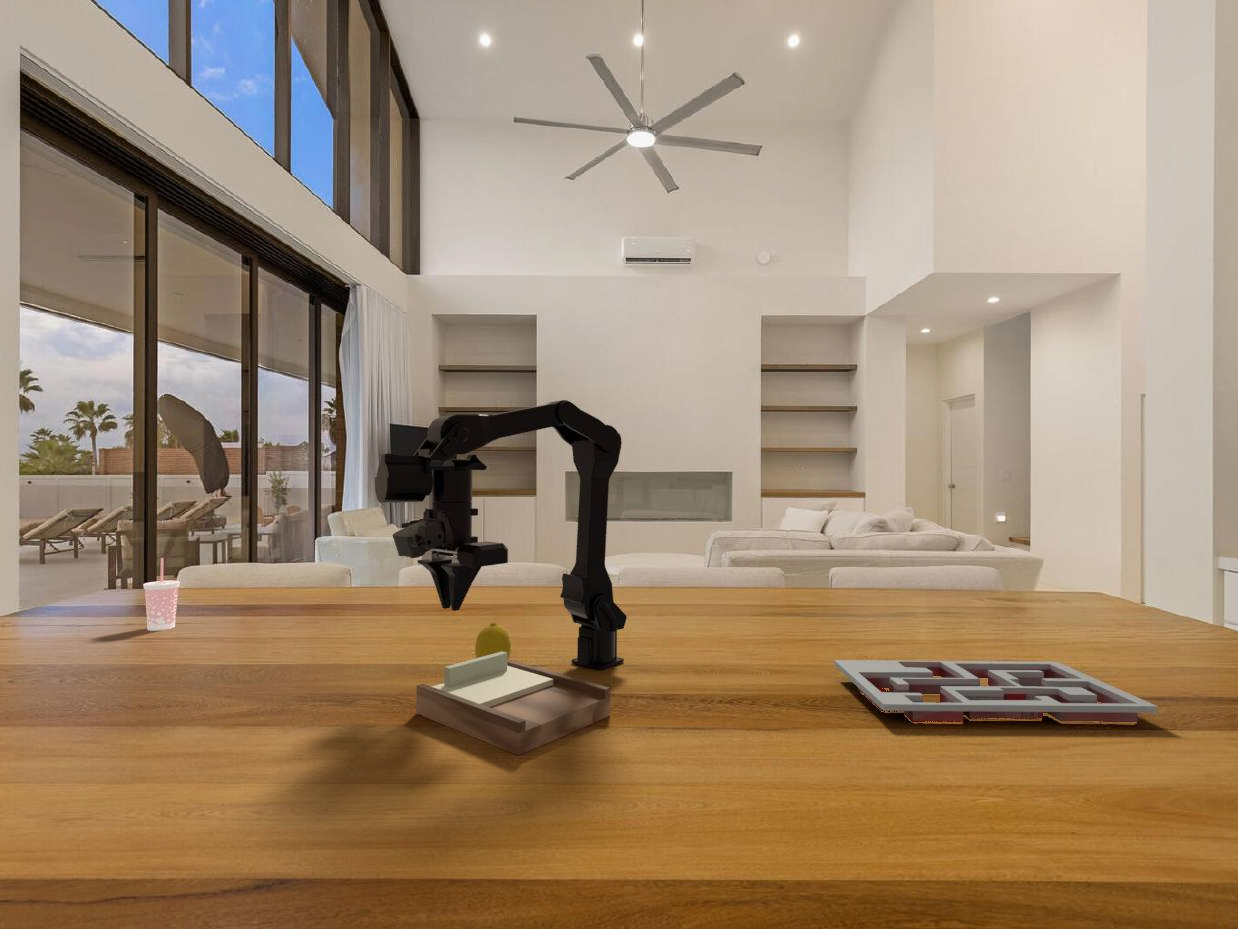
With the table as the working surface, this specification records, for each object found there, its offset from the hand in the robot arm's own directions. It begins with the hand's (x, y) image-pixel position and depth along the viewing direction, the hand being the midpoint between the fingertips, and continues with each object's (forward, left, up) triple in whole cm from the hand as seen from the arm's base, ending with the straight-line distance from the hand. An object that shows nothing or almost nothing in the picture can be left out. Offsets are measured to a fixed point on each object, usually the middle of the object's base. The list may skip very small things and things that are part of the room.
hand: (450, 609), depth 97 cm
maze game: (-47, +60, -13) cm, 77 cm away
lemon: (-10, -2, -12) cm, 16 cm away
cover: (0, +10, -9) cm, 13 cm away
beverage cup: (+14, -75, -12) cm, 78 cm away
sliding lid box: (0, +14, -12) cm, 18 cm away
